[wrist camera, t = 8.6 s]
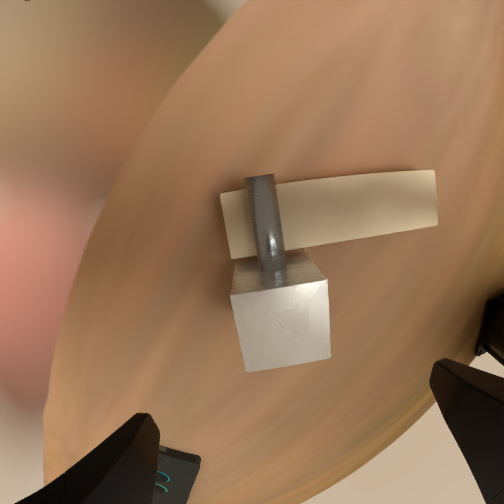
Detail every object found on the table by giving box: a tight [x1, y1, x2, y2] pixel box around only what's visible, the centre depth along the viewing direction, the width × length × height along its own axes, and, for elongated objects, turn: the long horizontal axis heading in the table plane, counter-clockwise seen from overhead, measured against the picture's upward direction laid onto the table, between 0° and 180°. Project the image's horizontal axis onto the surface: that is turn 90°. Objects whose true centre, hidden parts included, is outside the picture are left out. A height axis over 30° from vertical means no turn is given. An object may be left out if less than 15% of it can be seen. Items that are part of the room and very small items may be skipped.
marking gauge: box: [230, 174, 331, 372], centre depth 14 cm, size 8×4×6 cm, turn 9°
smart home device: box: [152, 445, 201, 504], centre depth 23 cm, size 8×2×20 cm
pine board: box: [220, 170, 438, 259], centre depth 15 cm, size 4×13×2 cm, turn 99°
